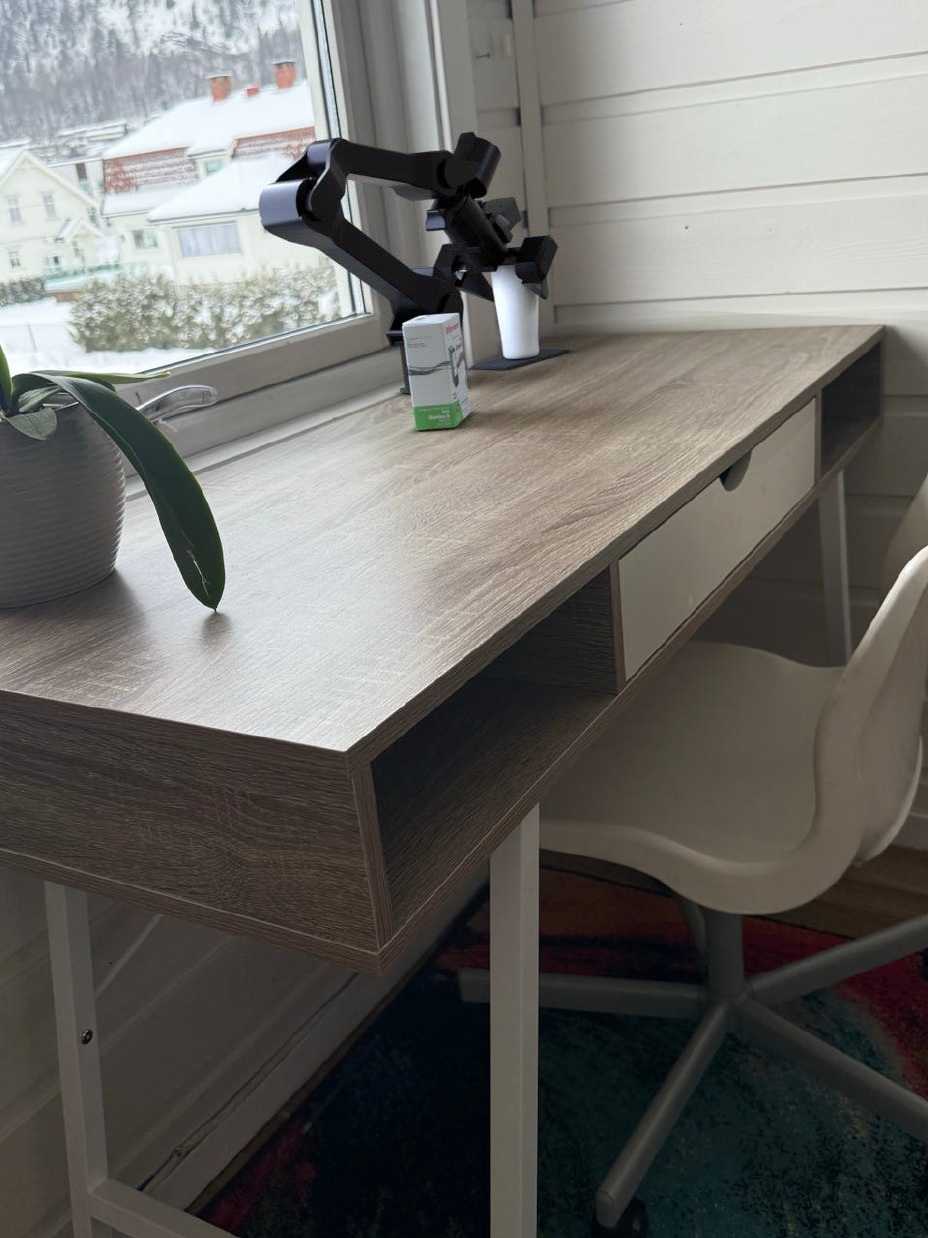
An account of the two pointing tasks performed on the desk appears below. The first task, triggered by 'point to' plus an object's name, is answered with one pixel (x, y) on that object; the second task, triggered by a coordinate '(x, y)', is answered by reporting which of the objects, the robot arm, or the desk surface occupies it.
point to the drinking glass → (515, 314)
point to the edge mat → (518, 360)
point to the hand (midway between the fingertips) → (520, 297)
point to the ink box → (436, 370)
